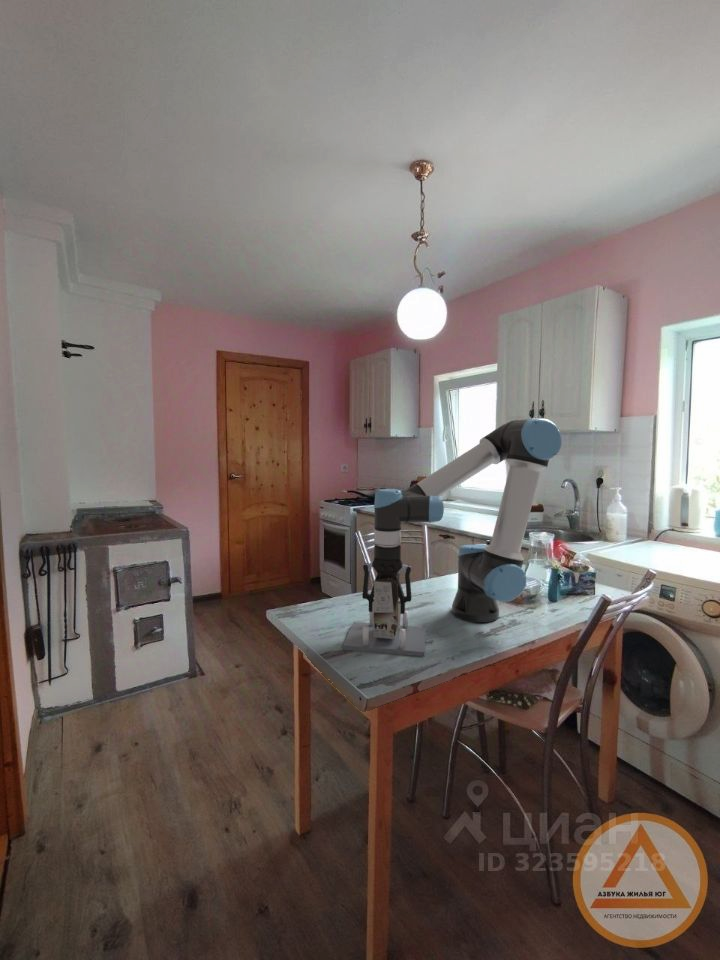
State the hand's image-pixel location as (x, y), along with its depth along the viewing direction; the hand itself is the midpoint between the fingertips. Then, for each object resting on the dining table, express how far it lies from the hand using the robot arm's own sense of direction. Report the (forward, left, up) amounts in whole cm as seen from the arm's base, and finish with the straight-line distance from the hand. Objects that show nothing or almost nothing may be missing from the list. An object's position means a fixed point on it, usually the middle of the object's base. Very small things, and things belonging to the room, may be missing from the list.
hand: (386, 623), depth 126 cm
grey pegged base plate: (0, 0, -5) cm, 5 cm away
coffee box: (0, 0, -3) cm, 3 cm away
